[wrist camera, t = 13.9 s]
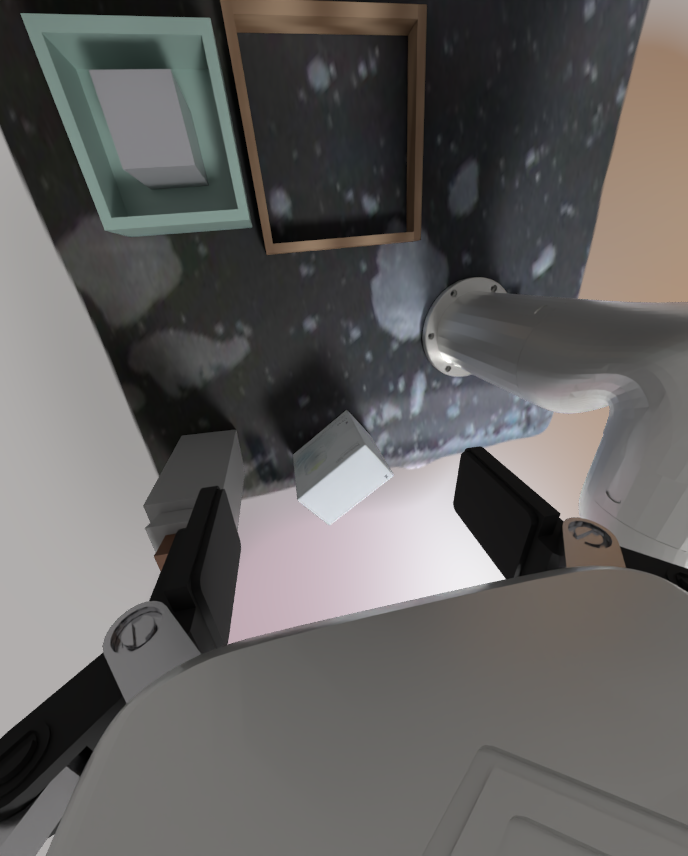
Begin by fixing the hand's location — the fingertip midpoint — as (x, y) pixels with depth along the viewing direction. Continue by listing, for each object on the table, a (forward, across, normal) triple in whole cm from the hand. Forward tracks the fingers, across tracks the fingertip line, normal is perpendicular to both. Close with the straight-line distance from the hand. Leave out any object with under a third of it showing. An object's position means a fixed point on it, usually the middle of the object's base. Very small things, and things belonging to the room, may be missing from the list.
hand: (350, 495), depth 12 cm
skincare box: (+29, -3, +15) cm, 33 cm away
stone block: (+27, +10, -18) cm, 34 cm away
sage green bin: (+28, +10, -18) cm, 35 cm away
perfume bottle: (+29, +13, +14) cm, 34 cm away
